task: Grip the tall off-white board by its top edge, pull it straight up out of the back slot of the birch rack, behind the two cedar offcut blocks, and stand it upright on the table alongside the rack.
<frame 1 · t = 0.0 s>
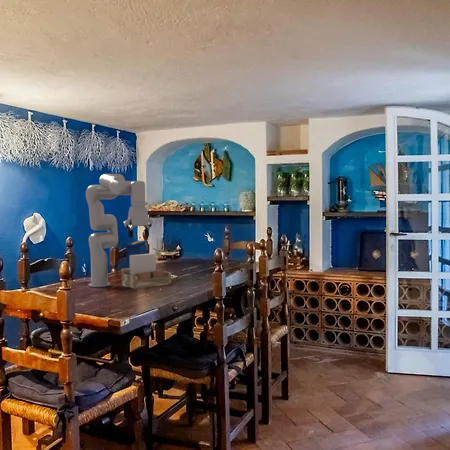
hand: (138, 237, 260), 31 cm above the table, tool pointing down, fingers open, 9 cm apart
book: (137, 280, 313), on the table
tall sheet: (143, 284, 299), resting in rack
offcut a: (143, 286, 290), resting in rack
rack: (146, 284, 297), on the table
offcut b: (157, 284, 297), resting in rack
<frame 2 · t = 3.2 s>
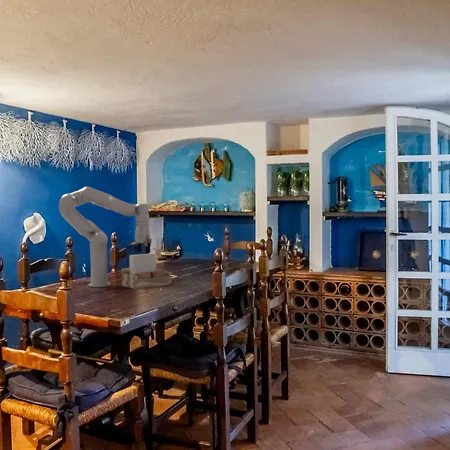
hand: (143, 252, 298), 19 cm above the table, tool pointing down, fingers open, 9 cm apart
book: (137, 280, 313), on the table, touching gripper
everything else where it was.
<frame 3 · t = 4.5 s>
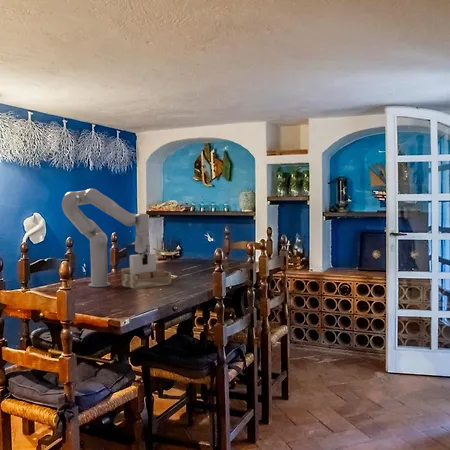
hand: (143, 263, 299), 12 cm above the table, tool pointing down, fingers closed on tall sheet, 4 cm apart
book: (137, 280, 313), on the table
tall sheet: (143, 284, 299), resting in rack, touching gripper
everything else where it was.
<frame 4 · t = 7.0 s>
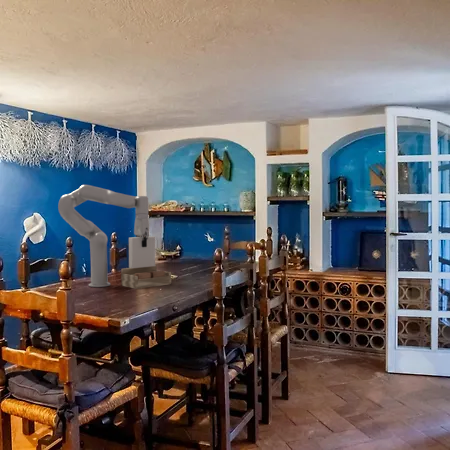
hand: (142, 246, 298), 23 cm above the table, tool pointing down, fingers closed on tall sheet, 4 cm apart
tall sheet: (142, 266, 299), point 11 cm above the table, touching gripper
everything else where it was.
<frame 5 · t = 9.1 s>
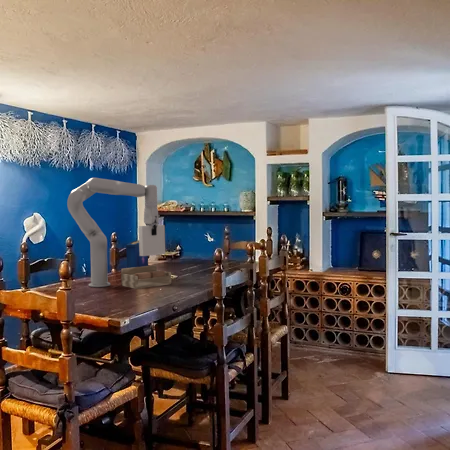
hand: (152, 234, 302), 30 cm above the table, tool pointing down, fingers closed on tall sheet, 4 cm apart
tall sheet: (152, 254, 303), point 17 cm above the table, touching gripper
everything else where it was.
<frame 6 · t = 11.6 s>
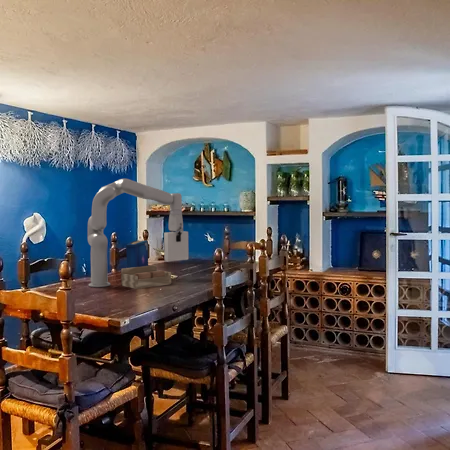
hand: (176, 241, 315), 25 cm above the table, tool pointing down, fingers closed on tall sheet, 4 cm apart
tall sheet: (176, 260, 315), point 12 cm above the table, touching gripper
everything else where it was.
when the fingers open (13 cm above the table, at t = 13.9 s): tall sheet stays where it is, on the table.
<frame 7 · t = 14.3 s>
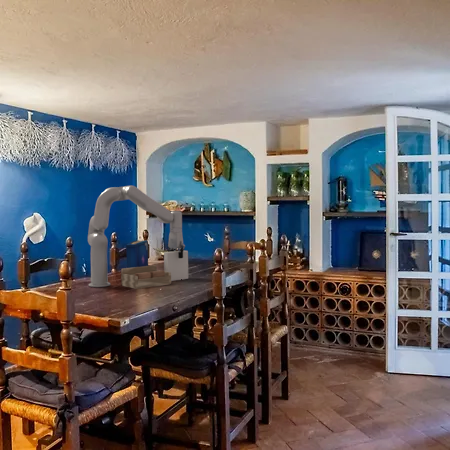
hand: (176, 257, 315), 14 cm above the table, tool pointing down, fingers open, 8 cm apart
tall sheet: (176, 279, 316), on the table
everything else where it was.
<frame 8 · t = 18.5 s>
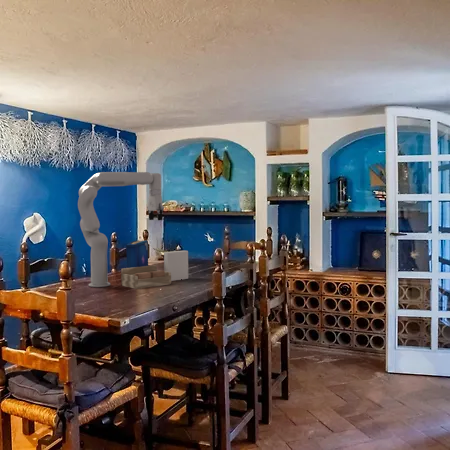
hand: (155, 220, 312), 38 cm above the table, tool pointing down, fingers open, 9 cm apart
nothing on the table moved.
at the end: tall sheet inside the target area (0.1 cm from its centre), on the table; tall sheet tilted 0°; offcut a moved 0.1 cm from its start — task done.
